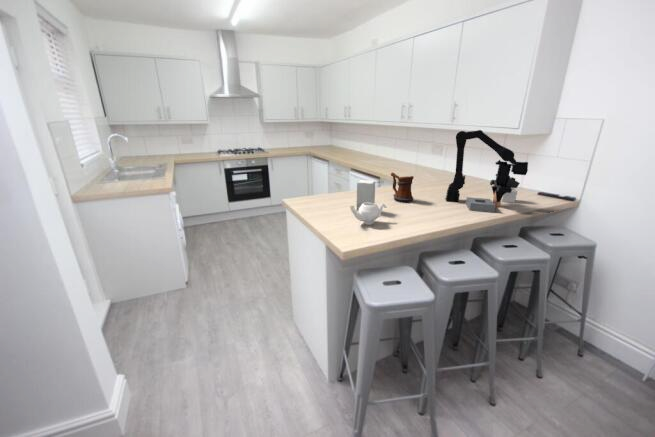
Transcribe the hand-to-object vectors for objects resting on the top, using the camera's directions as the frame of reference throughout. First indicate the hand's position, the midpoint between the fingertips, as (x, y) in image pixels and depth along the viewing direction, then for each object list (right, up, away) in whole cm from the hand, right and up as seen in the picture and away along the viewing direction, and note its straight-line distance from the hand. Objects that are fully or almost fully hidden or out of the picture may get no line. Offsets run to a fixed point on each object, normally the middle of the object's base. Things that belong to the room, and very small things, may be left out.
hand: (497, 200), depth 163 cm
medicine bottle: (+12, +1, +12) cm, 17 cm away
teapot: (-76, -12, -27) cm, 82 cm away
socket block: (-11, -4, -3) cm, 13 cm away
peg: (0, -3, +1) cm, 3 cm away
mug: (-52, +2, +12) cm, 53 cm away
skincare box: (-75, -6, -10) cm, 76 cm away
